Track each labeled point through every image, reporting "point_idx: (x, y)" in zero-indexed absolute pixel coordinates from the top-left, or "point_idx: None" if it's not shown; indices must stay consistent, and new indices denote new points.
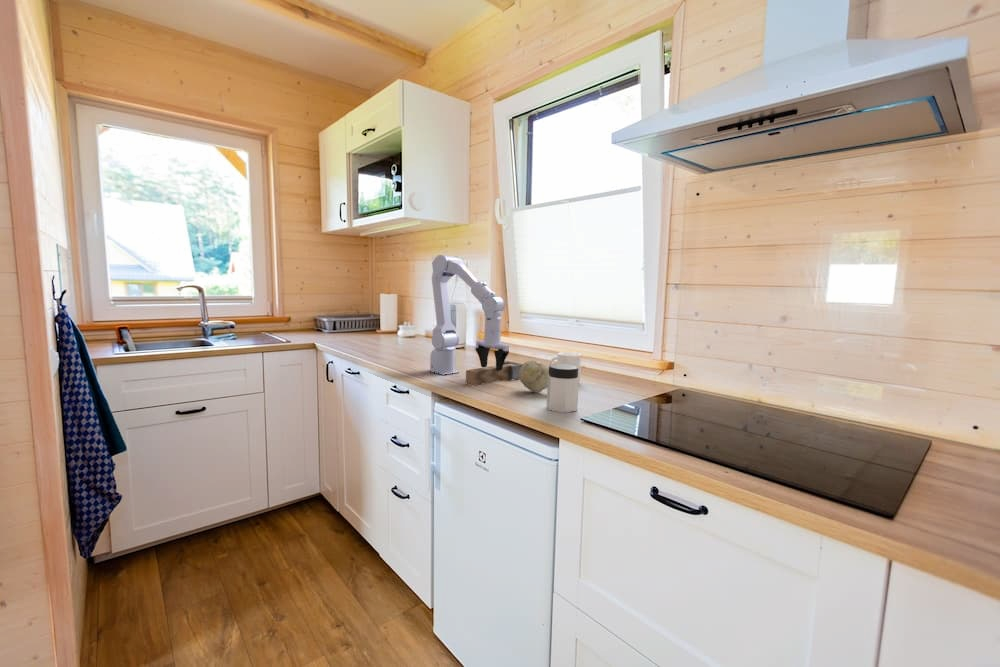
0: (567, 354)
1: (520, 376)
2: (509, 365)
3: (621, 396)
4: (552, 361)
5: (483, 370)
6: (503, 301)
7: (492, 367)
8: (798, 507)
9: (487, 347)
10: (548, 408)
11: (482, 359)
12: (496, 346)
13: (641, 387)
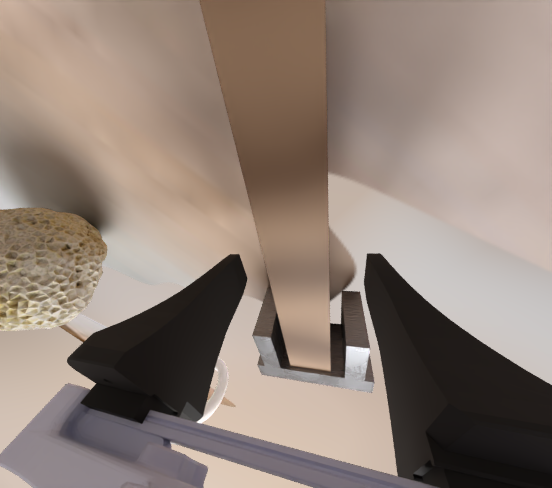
0: None
1: (20, 218)
2: (294, 347)
3: (76, 318)
4: (207, 401)
5: (242, 171)
6: None
7: (296, 277)
8: None
9: (343, 466)
10: None
11: (383, 299)
12: (75, 457)
13: None
